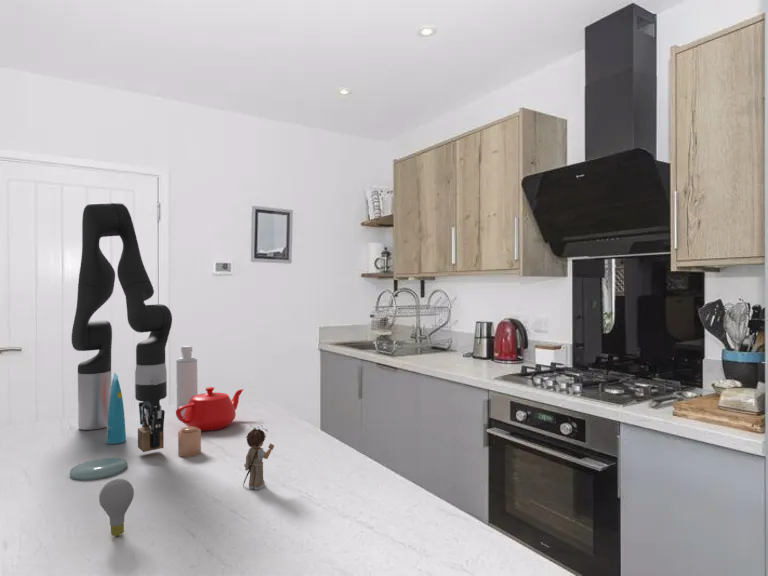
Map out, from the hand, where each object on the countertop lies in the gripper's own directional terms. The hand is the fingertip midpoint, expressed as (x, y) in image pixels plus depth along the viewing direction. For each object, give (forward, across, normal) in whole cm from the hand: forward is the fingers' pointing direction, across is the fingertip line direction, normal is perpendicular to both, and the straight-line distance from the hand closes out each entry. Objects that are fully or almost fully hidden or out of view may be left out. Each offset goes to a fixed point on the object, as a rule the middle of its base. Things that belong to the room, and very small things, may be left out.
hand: (151, 444), depth 135 cm
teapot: (+3, -16, +23) cm, 28 cm away
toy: (+2, +38, +10) cm, 40 cm away
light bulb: (+2, +42, -18) cm, 46 cm away
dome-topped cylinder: (+2, +6, +8) cm, 10 cm away
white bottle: (+3, -34, +22) cm, 41 cm away
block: (+1, 0, 0) cm, 1 cm away
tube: (+3, -18, -4) cm, 18 cm away
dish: (+2, +4, -13) cm, 14 cm away
